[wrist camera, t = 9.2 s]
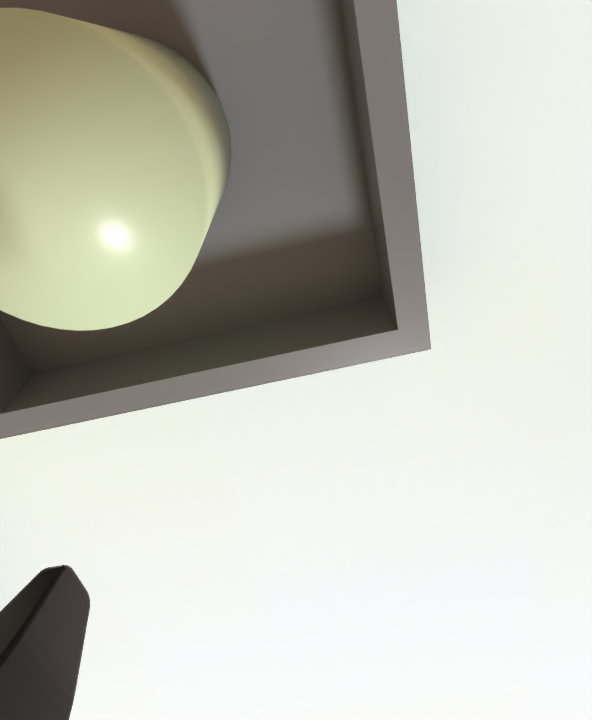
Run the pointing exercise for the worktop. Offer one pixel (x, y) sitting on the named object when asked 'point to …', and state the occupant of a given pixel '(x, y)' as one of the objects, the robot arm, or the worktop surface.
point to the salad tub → (101, 170)
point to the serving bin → (257, 218)
